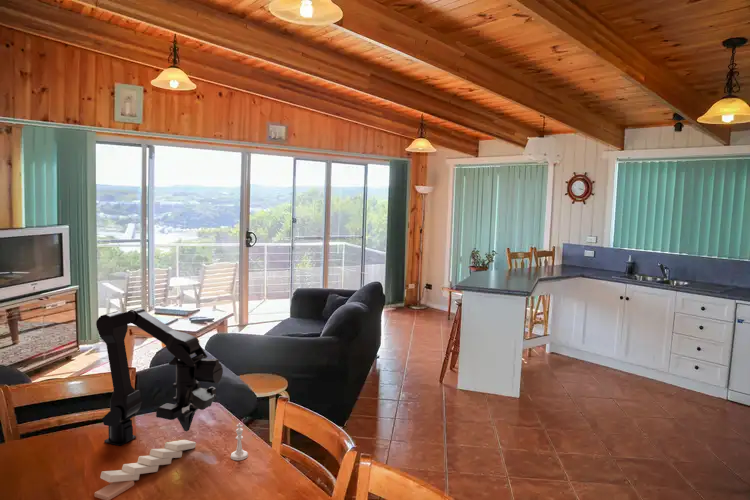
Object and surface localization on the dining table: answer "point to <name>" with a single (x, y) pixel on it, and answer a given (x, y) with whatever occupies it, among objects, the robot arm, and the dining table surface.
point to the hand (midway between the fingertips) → (186, 430)
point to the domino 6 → (180, 445)
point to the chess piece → (239, 446)
